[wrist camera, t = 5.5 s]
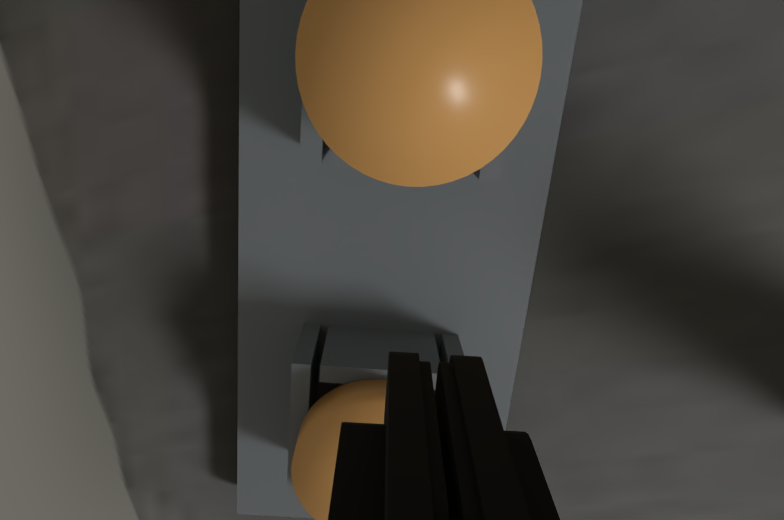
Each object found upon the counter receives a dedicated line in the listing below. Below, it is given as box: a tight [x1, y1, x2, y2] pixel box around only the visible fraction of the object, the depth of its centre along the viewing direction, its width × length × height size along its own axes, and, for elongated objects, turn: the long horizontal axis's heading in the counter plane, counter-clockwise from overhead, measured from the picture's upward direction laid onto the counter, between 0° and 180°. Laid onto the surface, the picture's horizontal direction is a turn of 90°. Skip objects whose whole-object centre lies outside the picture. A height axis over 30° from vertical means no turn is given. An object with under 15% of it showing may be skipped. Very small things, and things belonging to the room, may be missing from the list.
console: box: [237, 0, 583, 518], centre depth 25 cm, size 32×14×6 cm, turn 175°
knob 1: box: [291, 379, 387, 520], centre depth 26 cm, size 7×7×6 cm
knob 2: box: [295, 0, 543, 187], centre depth 18 cm, size 7×7×6 cm
